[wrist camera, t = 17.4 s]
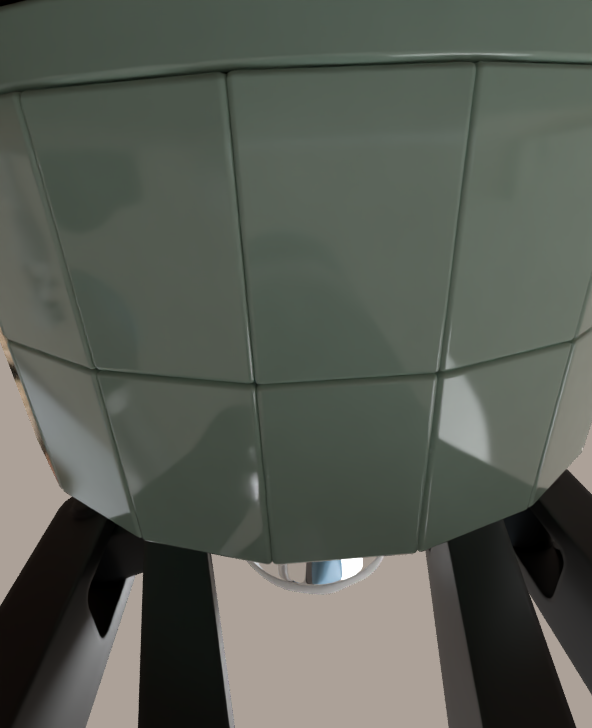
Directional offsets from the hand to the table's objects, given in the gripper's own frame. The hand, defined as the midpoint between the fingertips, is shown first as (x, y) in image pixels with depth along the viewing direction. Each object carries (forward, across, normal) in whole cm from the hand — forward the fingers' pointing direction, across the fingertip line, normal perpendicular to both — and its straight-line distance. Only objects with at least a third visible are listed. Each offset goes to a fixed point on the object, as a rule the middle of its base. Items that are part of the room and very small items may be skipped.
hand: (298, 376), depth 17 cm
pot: (-5, 0, +9) cm, 11 cm away
